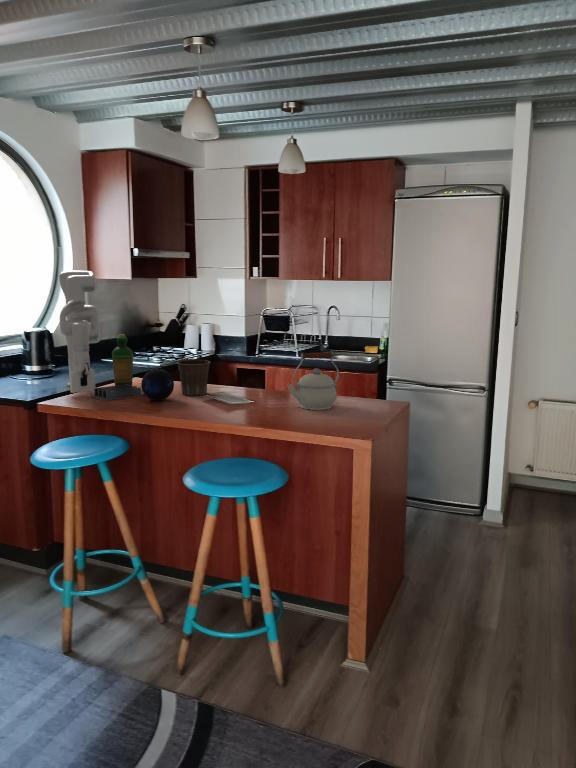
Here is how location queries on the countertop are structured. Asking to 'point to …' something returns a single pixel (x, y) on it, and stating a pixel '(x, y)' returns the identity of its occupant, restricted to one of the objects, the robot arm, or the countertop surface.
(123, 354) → the bottle
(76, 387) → the small white box
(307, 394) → the kettle
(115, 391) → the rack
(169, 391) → the decorative sphere
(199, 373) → the plant pot
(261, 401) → the countertop surface
